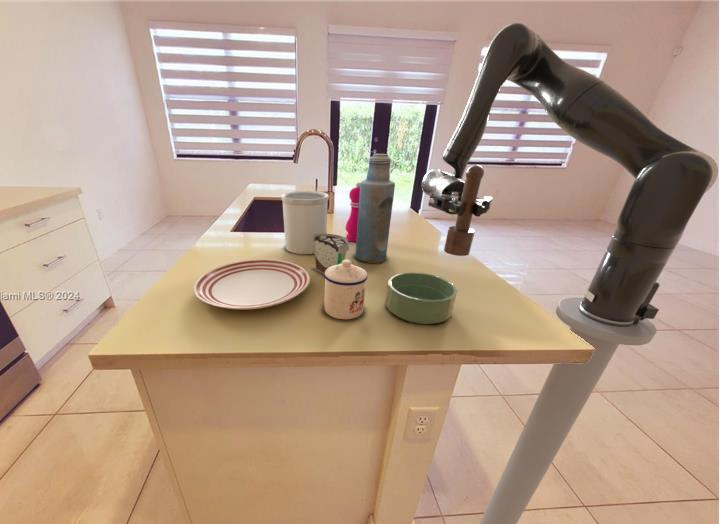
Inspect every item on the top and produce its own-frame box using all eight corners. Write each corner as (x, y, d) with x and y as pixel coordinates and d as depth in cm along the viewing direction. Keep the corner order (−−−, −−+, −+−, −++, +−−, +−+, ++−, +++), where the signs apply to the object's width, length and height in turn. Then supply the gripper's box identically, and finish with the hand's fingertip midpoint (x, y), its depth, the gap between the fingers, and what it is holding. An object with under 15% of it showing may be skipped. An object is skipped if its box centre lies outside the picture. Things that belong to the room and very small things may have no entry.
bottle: (371, 265, 93) (382, 155, 79) (348, 256, 100) (355, 153, 86) (392, 259, 98) (406, 154, 84) (369, 250, 105) (379, 152, 91)
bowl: (444, 297, 76) (449, 275, 73) (457, 330, 63) (464, 304, 61) (384, 292, 78) (387, 270, 75) (386, 323, 65) (389, 297, 62)
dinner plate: (183, 324, 63) (180, 310, 62) (205, 271, 87) (203, 259, 86) (317, 315, 67) (317, 301, 66) (303, 266, 91) (303, 256, 90)
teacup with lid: (356, 324, 64) (360, 272, 59) (316, 314, 68) (317, 264, 62) (372, 300, 74) (377, 253, 69) (337, 292, 77) (339, 247, 72)
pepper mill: (366, 238, 117) (372, 181, 108) (361, 243, 111) (366, 184, 102) (348, 235, 120) (352, 180, 111) (342, 240, 114) (345, 182, 105)
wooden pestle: (466, 248, 70) (487, 164, 62) (472, 256, 66) (495, 166, 57) (441, 247, 71) (459, 163, 63) (446, 255, 66) (465, 165, 58)
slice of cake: (356, 277, 85) (359, 242, 81) (338, 282, 82) (340, 246, 77) (329, 263, 94) (330, 230, 89) (312, 267, 91) (312, 233, 86)
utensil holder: (295, 258, 97) (294, 200, 89) (276, 244, 109) (273, 192, 100) (335, 251, 104) (337, 196, 96) (313, 238, 115) (314, 189, 107)
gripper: (425, 177, 76) (437, 189, 60) (486, 180, 74) (514, 192, 59) (420, 209, 79) (430, 227, 64) (478, 212, 77) (503, 232, 62)
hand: (470, 210), depth 61 cm, fingers closed on wooden pestle, 3 cm apart
